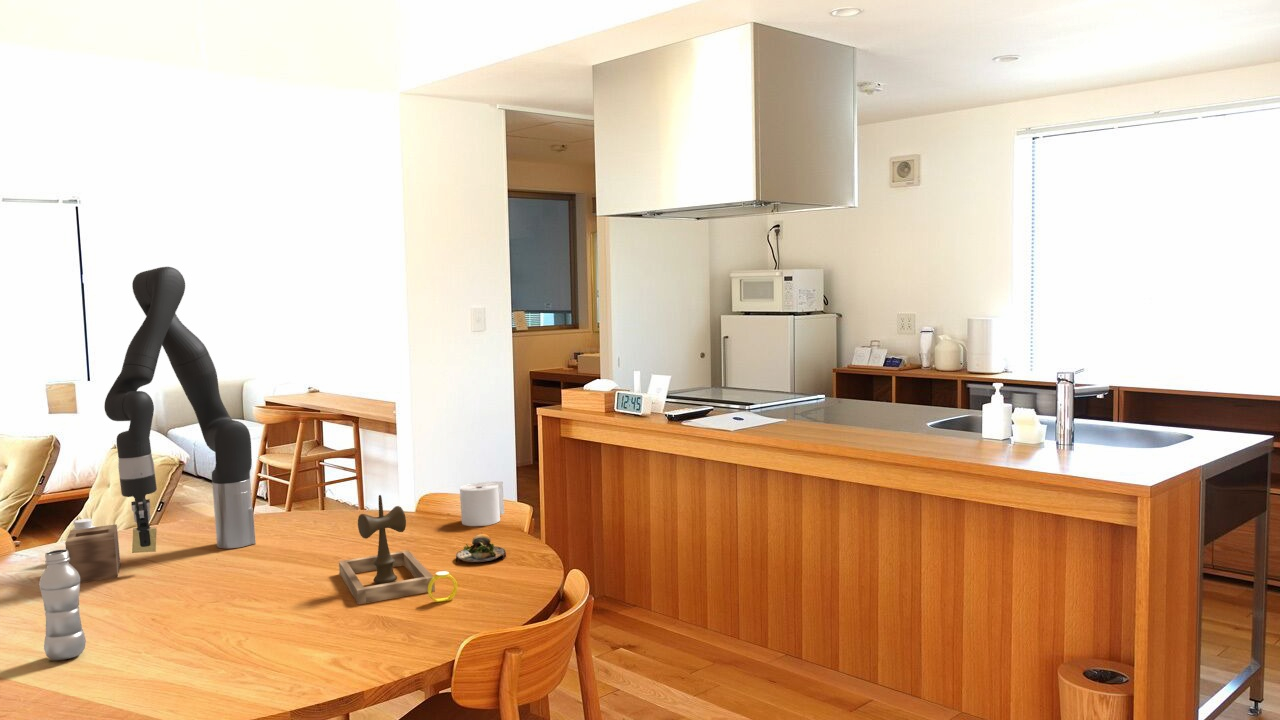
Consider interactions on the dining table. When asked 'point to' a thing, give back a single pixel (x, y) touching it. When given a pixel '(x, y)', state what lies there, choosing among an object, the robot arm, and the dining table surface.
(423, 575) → the wooden frame
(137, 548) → the yellow wooden block
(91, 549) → the walnut tissue box
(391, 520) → the kendama
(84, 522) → the supplement bottle
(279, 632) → the dining table surface
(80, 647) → the plastic bottle
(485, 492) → the toilet tissue
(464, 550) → the burger
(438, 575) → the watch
